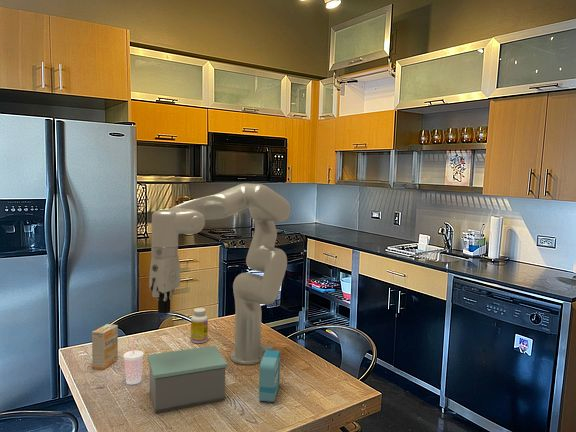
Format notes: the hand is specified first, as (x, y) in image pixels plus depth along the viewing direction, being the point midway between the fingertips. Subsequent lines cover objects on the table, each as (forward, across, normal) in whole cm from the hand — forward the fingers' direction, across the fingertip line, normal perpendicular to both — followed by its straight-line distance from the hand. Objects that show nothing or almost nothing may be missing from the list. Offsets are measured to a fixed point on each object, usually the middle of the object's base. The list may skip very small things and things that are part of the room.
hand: (164, 312), depth 129 cm
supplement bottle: (+25, +41, +10) cm, 50 cm away
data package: (+26, +12, -30) cm, 41 cm away
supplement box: (+26, +11, +30) cm, 41 cm away
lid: (+15, +2, -7) cm, 17 cm away
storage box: (+26, +2, -7) cm, 26 cm away
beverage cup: (+26, +4, +14) cm, 29 cm away
